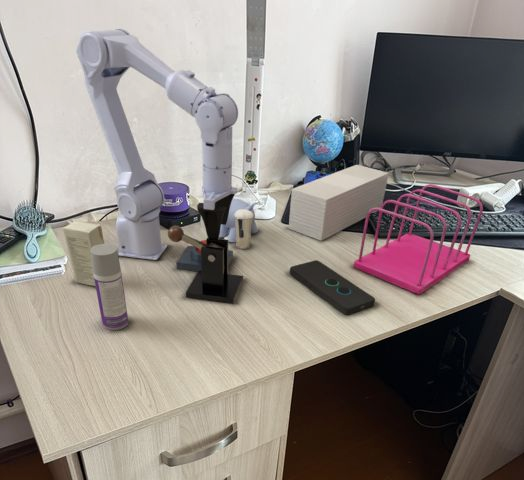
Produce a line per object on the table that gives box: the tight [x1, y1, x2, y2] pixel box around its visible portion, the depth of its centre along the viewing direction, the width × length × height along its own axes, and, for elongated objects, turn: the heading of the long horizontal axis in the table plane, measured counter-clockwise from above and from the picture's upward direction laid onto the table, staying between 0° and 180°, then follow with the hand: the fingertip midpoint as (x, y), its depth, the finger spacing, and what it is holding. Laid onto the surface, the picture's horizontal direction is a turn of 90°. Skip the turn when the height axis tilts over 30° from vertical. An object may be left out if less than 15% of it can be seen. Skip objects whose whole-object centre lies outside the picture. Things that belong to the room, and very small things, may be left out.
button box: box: [176, 245, 234, 272], centre depth 111 cm, size 11×9×4 cm
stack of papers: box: [287, 164, 390, 242], centre depth 134 cm, size 32×11×11 cm, turn 140°
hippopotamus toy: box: [218, 198, 259, 243], centre depth 124 cm, size 11×15×10 cm
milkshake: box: [234, 209, 253, 250], centre depth 117 cm, size 4×5×10 cm
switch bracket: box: [185, 237, 244, 304], centre depth 99 cm, size 10×10×10 cm
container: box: [90, 243, 129, 331], centre depth 86 cm, size 5×5×15 cm
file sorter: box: [352, 183, 484, 295], centre depth 112 cm, size 17×25×16 cm
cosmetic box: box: [62, 220, 105, 287], centre depth 99 cm, size 6×4×12 cm
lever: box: [167, 225, 224, 249], centre depth 97 cm, size 12×3×3 cm, turn 80°
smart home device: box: [289, 259, 376, 316], centre depth 104 cm, size 8×2×20 cm
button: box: [197, 239, 206, 253], centre depth 109 cm, size 4×4×2 cm
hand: (217, 230), depth 102 cm, fingers open, 7 cm apart
